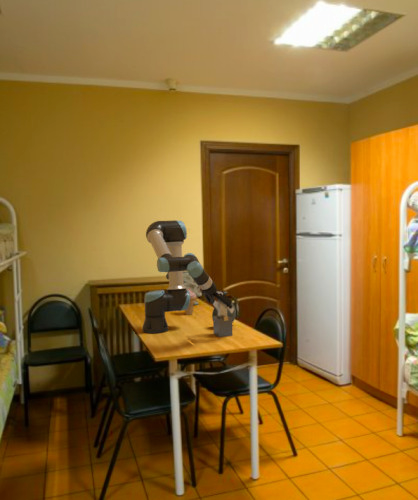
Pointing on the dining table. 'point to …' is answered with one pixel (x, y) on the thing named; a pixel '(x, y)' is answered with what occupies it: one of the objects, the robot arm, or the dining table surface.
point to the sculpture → (190, 284)
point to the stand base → (222, 326)
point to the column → (221, 309)
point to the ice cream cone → (191, 303)
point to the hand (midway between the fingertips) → (226, 310)
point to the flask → (215, 311)
